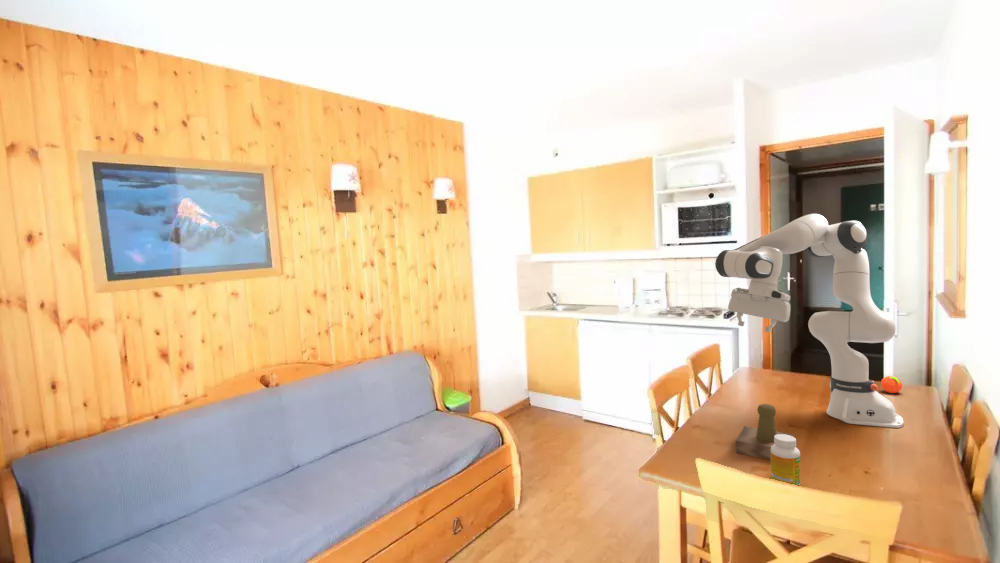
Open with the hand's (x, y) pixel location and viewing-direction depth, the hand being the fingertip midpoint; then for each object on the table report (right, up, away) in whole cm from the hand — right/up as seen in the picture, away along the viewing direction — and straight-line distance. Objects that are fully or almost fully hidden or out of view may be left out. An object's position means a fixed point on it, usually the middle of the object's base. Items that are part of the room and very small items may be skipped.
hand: (753, 328), depth 175 cm
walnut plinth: (-7, -37, -19) cm, 42 cm away
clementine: (+71, -30, +26) cm, 81 cm away
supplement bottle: (-12, -39, -40) cm, 57 cm away
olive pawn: (-7, -33, -21) cm, 40 cm away
